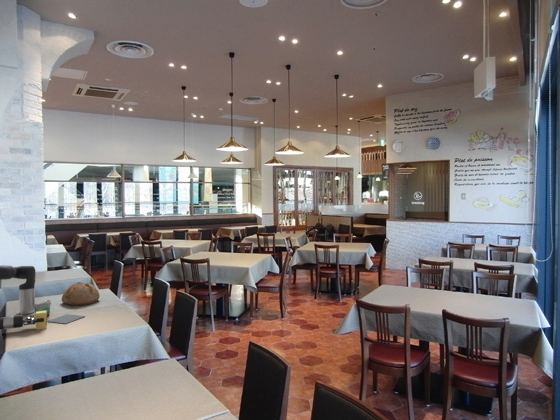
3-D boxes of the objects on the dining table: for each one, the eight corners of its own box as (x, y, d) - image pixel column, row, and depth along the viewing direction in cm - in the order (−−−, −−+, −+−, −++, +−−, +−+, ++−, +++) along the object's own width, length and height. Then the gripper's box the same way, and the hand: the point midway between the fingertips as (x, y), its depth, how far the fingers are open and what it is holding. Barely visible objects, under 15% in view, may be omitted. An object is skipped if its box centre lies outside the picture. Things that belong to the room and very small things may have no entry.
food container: (41, 319, 256) (41, 305, 255) (33, 319, 257) (33, 304, 257) (55, 314, 268) (55, 300, 267) (48, 314, 269) (48, 299, 269)
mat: (46, 322, 251) (46, 321, 251) (66, 314, 266) (66, 314, 266) (65, 324, 246) (65, 323, 246) (85, 316, 261) (85, 316, 261)
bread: (55, 304, 295) (54, 285, 294) (81, 297, 316) (81, 279, 316) (79, 307, 284) (79, 287, 284) (105, 300, 306) (104, 281, 305)
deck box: (36, 327, 240) (36, 311, 240) (47, 326, 243) (46, 310, 243) (35, 329, 236) (35, 313, 236) (46, 328, 239) (46, 312, 239)
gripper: (11, 318, 226) (43, 314, 234) (15, 312, 239) (45, 309, 247) (11, 331, 227) (43, 327, 234) (15, 324, 239) (45, 320, 247)
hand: (44, 317), depth 240 cm, fingers open, 8 cm apart
